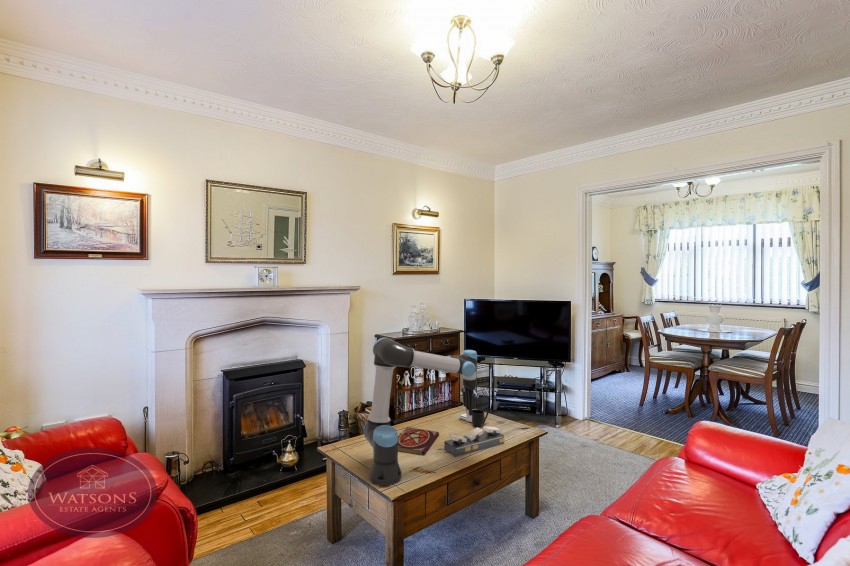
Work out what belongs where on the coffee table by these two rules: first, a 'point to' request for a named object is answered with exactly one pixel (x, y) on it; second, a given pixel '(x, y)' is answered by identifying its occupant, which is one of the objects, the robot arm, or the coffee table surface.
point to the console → (474, 444)
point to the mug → (478, 418)
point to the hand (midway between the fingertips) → (469, 420)
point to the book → (416, 440)
